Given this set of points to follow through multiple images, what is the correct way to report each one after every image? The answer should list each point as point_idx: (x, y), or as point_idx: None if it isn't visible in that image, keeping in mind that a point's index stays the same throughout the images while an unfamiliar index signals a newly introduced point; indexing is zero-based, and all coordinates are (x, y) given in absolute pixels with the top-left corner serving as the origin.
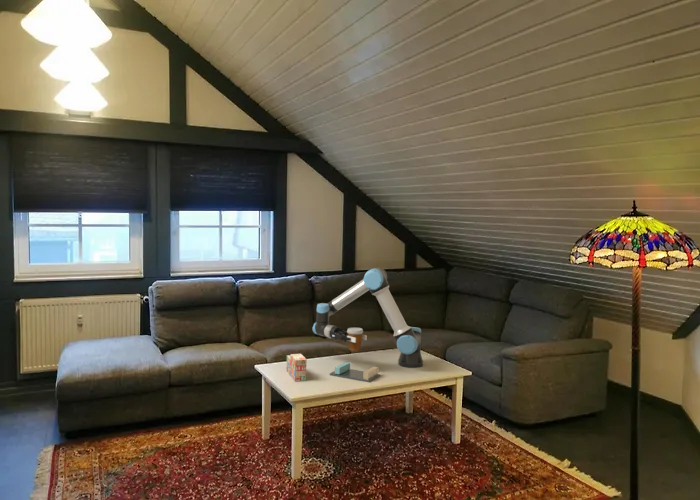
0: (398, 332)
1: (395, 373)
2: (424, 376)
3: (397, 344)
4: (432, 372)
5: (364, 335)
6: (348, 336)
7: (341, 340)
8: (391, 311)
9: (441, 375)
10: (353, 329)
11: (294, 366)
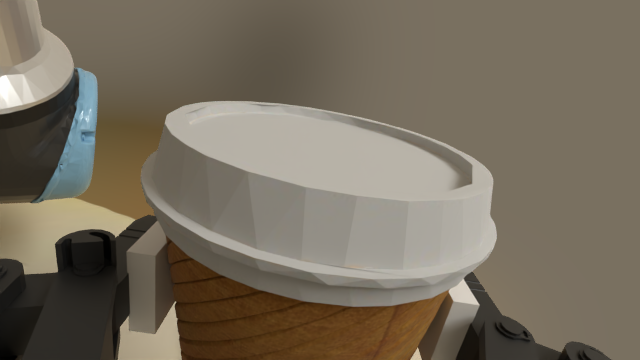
0: (55, 63)
1: None
2: (121, 227)
3: (93, 151)
4: (38, 221)
5: None
6: (462, 280)
7: None
8: None
9: (80, 201)
10: (346, 158)
11: None
